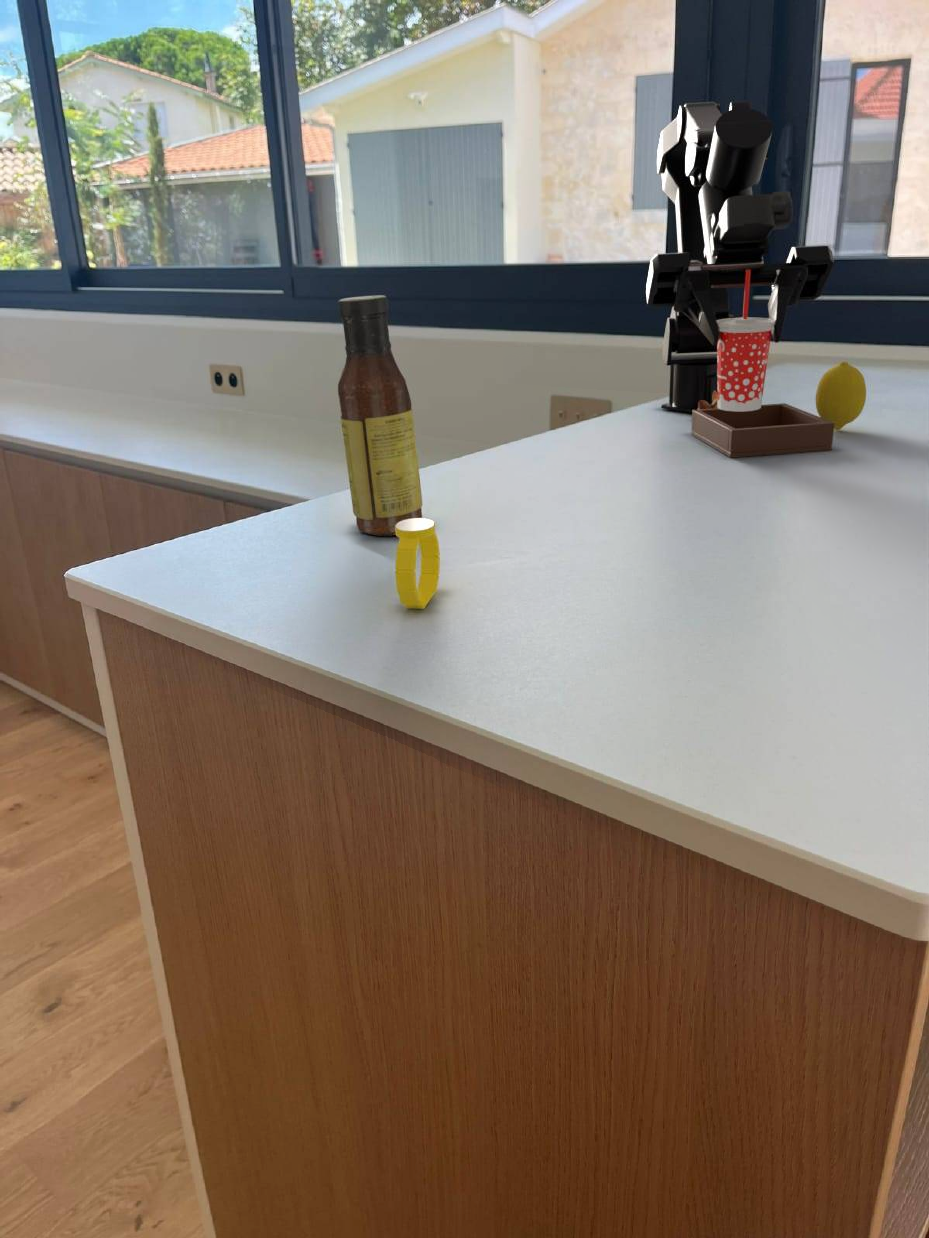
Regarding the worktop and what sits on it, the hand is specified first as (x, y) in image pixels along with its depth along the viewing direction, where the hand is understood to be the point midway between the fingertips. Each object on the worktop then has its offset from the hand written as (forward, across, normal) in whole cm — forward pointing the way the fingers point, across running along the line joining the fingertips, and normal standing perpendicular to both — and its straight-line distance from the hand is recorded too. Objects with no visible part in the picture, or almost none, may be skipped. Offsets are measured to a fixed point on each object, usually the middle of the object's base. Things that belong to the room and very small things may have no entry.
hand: (746, 341), depth 98 cm
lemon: (+1, +14, +17) cm, 22 cm away
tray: (+4, +4, +14) cm, 15 cm away
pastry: (-6, +3, +24) cm, 25 cm away
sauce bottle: (+24, -36, -6) cm, 44 cm away
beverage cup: (+4, 0, +6) cm, 7 cm away
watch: (+36, -32, -20) cm, 52 cm away
